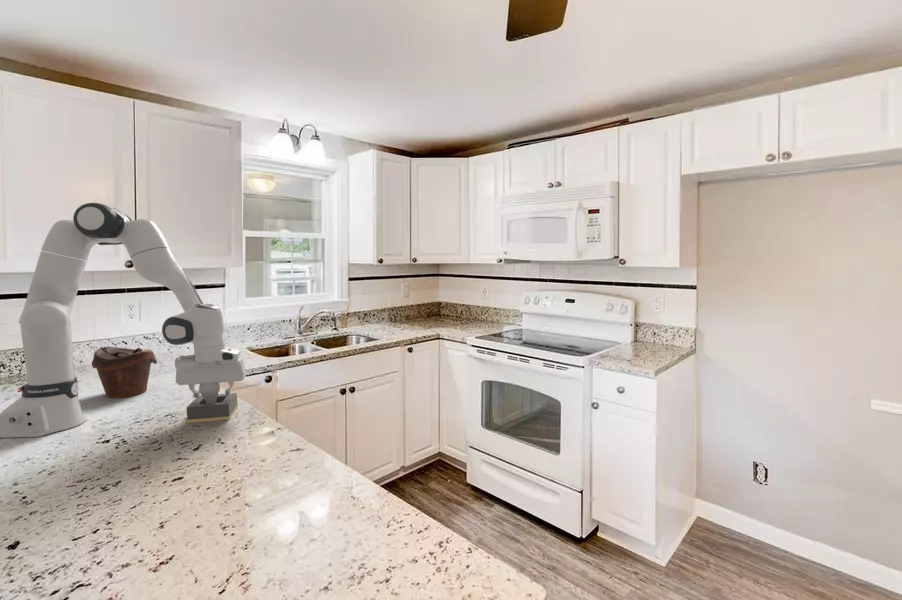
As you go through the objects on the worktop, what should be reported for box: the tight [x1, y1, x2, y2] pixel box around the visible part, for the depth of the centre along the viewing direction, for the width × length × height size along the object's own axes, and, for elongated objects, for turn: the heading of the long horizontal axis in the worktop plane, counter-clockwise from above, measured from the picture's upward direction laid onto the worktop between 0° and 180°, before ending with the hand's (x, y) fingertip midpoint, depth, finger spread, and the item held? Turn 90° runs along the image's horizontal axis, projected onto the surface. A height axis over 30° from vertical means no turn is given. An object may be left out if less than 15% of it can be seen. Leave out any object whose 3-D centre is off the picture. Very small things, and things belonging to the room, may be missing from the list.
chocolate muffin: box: [91, 346, 158, 399], centre depth 174 cm, size 18×20×18 cm
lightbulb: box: [198, 382, 221, 404], centre depth 149 cm, size 6×6×11 cm
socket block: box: [186, 392, 239, 424], centre depth 150 cm, size 12×12×5 cm
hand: (212, 395), depth 149 cm, fingers open, 8 cm apart
